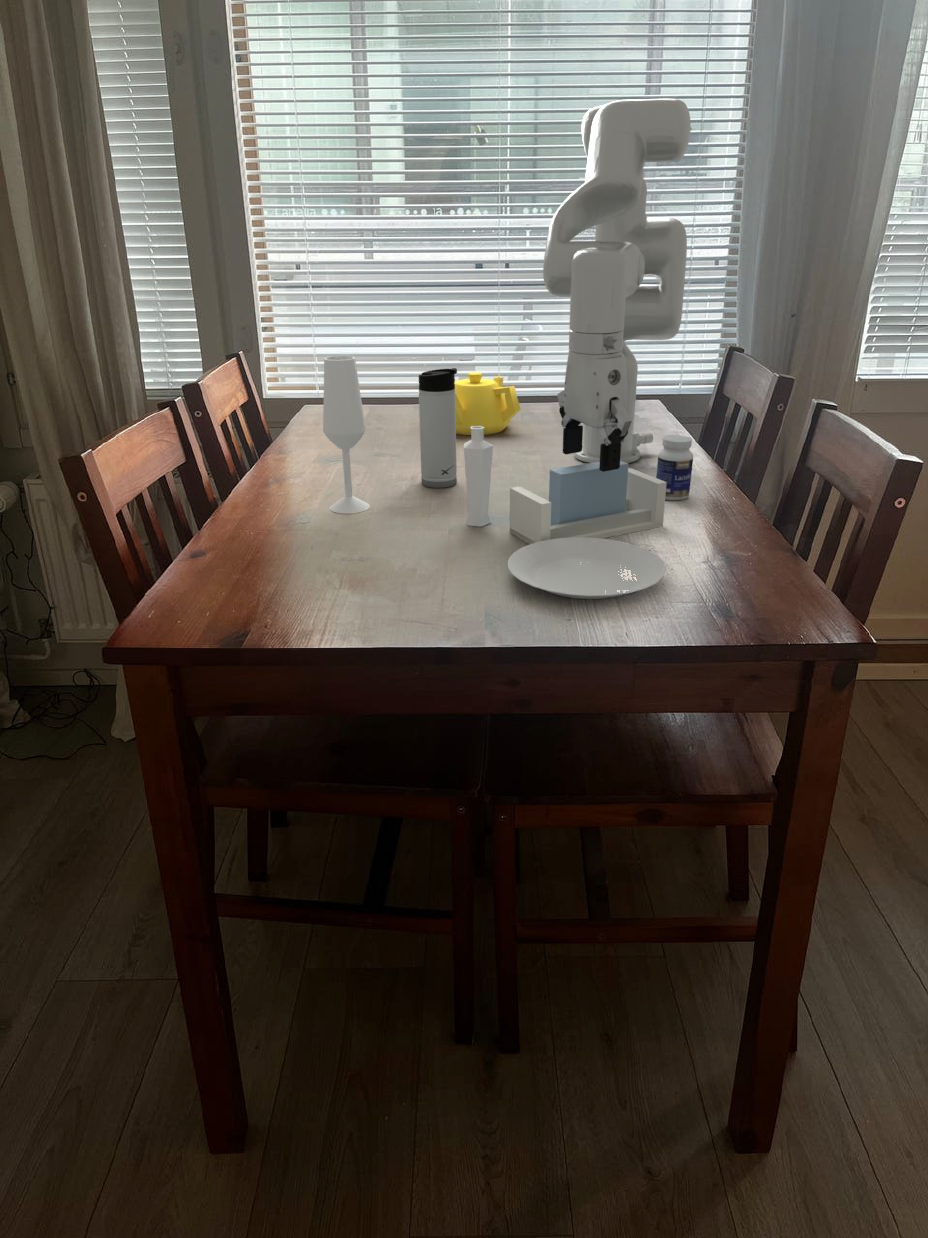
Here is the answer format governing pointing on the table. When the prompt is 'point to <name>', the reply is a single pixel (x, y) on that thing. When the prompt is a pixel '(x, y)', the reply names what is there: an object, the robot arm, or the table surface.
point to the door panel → (586, 492)
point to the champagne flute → (343, 420)
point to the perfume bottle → (478, 476)
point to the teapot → (484, 404)
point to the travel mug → (438, 427)
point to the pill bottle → (675, 466)
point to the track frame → (640, 514)
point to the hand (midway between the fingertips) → (590, 460)
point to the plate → (586, 567)
